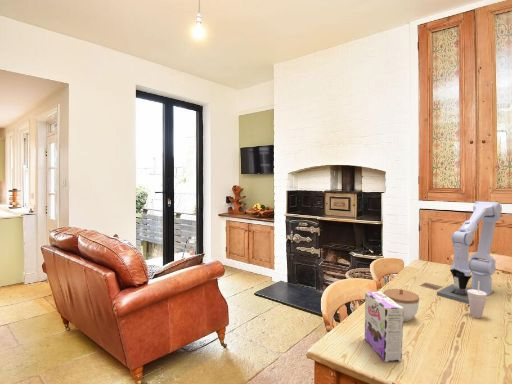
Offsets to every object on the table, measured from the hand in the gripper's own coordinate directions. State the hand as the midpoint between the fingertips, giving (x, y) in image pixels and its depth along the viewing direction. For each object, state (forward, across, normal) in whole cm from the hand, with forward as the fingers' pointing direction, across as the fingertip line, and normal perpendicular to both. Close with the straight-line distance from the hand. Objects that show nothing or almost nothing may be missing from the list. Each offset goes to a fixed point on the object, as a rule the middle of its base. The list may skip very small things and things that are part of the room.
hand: (460, 287), depth 142 cm
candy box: (+6, +54, -44) cm, 69 cm away
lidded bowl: (+6, +27, -32) cm, 42 cm away
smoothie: (+5, +19, -2) cm, 20 cm away
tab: (+5, -12, -8) cm, 15 cm away
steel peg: (+2, 0, 0) cm, 3 cm away
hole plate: (+5, -2, +1) cm, 6 cm away
